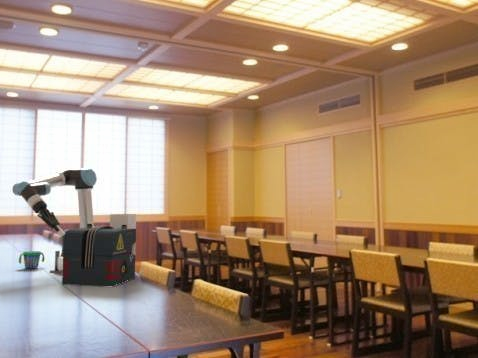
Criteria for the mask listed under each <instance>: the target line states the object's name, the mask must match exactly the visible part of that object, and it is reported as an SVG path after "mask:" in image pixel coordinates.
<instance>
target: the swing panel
mask: <svg viewBox="0 0 478 358" xmlns="http://www.w3.org/2000/svg"><path fill="white" fill-rule="evenodd" d="M57 269H59V270H63V257H58V267H57Z"/></svg>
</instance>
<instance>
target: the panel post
mask: <svg viewBox="0 0 478 358" xmlns="http://www.w3.org/2000/svg"><path fill="white" fill-rule="evenodd" d="M54 252H55V253H54V257H55V258H54V259H55V260H54V269H50V270H49V273H50V274H60V273H61V274H62V273H63V270H60V269H57V267H58V257H60V256H61V254H60V250H55V251H54Z"/></svg>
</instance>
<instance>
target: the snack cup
mask: <svg viewBox="0 0 478 358" xmlns="http://www.w3.org/2000/svg"><path fill="white" fill-rule="evenodd" d="M19 255H20V256H19V258H18V262H19V264H22V257H23V262H24V263H23V264H24V268H25V269H27V270H28V269H30V270H31V269H37V268H39V264H40V259H41V258H42V259H41V262H45V254H44V252H42V251H39V250H33V251H32V250H29V251H26V250H25V251H22V253H20V254H19ZM41 255H42V257H41Z"/></svg>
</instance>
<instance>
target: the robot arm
mask: <svg viewBox="0 0 478 358" xmlns="http://www.w3.org/2000/svg"><path fill="white" fill-rule="evenodd" d="M97 178H98V177H97V174H96V172H95V171H94V170H93V169H92V168H88V167H82V168H81V167H80V168H79V167H78V168H77V167H75V168H74V167H73V168H67V169H64V170H61V171H57V172H55V173H54V174H52V175H48V176H44V177H41V178H37V179H34V180H33V179H32V180H30V181H27V180H24V181H21V182H18V183H15V184H13V186H12V193H13V194H14V195H15V196H19V197H22V198H23V199H24V201H25V202H26V203H27V204H28V206H29V207H30V208H31V209H32V210H33V212H34V213H35V214H37V217H38V218H39V219H41V220H42V221H43V223H45V225H47V226H48V227H49V228H50V230H54V231H55V232H56V233H57V234H58V235H59V237H60V238H61V241H62V242H61V254H60V257H63V245H64V235H65V233H66V231H67V230H68V229H64V230H63V229H62V228H61V227H60V224H61V223H60V222H59V220H58V219H57V217H56V215H55V213H54V212H53V211H50V210H49V209H48V204H47V203H46V202H45V200H43V198H42V197H41V196H47V195H49V194H50V193H51V190H52V188H55V187H63V186H64V187H67V186H69V187H70V186H71V187H74V190H75V191H77V199H78V213H79V216H78V217H79V228H87V224H92V227H95V224H94V213H93V211H94V209H93V199H92V196H93V195H92V190H94V186H95V185H96V183H97Z"/></svg>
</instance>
